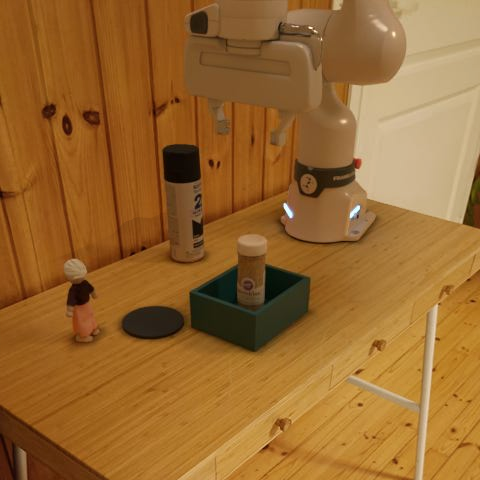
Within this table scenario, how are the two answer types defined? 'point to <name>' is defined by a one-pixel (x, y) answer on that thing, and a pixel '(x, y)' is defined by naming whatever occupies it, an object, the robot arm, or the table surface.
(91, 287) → the grandmother figurine
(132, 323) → the pad
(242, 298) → the sprinkles bottle
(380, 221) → the table surface
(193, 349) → the table surface
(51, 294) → the table surface
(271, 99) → the robot arm
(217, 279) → the basin
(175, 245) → the spray can
